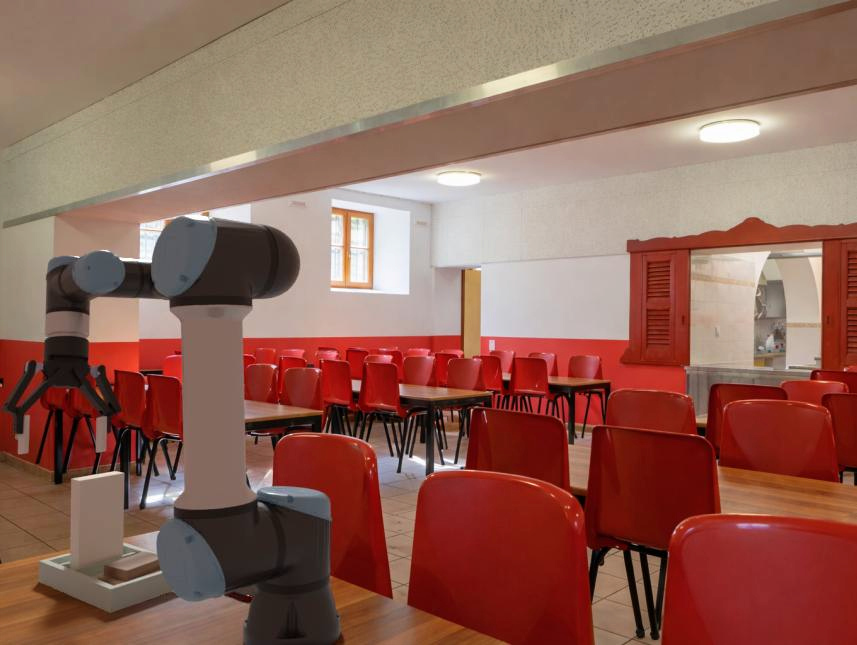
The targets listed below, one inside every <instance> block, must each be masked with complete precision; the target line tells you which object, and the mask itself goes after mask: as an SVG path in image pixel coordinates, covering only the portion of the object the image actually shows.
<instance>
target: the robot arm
mask: <svg viewBox="0 0 857 645" xmlns="http://www.w3.org/2000/svg"><path fill="white" fill-rule="evenodd" d="M300 270H301V258H300V253H299V250H298V248H297V247H296V243H294V241H293V240H292V239H291V237H290V236H289V235H287V234H286V233H285V232H283V231H282V230H280V229H279V228H277V227H273V226H270V225H268V224H267V225H266V224H263V223H262V224H261V223H252V222H245V221H240V220H239V221H238V220H233V219H226V218H222V217H215V216H210V215H190V214H189V215H187V214H186V215H180V216H176V217H175V218H173V219H172V220H170V221H169V222H168V223H167V224H166V225H165V227H164V228H163V229H162V230H161V232H160V235H158V237H157V240H156V242H155V245H154V248H153V251H152V256H151V259H138V258H130V257H129V258H127V257H119V256H118V255H117V254H115V253H113V252H111V251H109V250H105V249H96V250H94V251H91V252H88V253H85V254H83V255H82V256H75V255H60V256H54V257H53V258H51V259H49V261H48V263H47V268H46V274H45V281H46V283H45V284H46V286H45V287H46V288H45V290H46V291H45V316H44V318H45V320H44V321H45V322H44V335H45V337H46V338H45V339H44V341H43V343H44V345H43V362H38V361H36V360H35V359H31V360H29V361H27V362H25V363H24V366H23V371H22V375H21V376H20V378H19V380H18V381H17V382H16V384H15V386H14V388H13V389H12V391H11V392H10V394H9V396H8V397H7V399H6V401H5V402H4V404H3V405H2V407H1V411H2V412H3V413H7V414H9V415H11V416H12V417H13V424H12V426H13V427H12V433H13V435H18V441H17V455H23V454H24V455H25V454H29V446H30V445H29V442H30V421H31V415H29V414H26V413H27V412H28V411H29V410H30V409H31V408H32V407H33V406H34V405H35V404H36V403H37V402H38V400H39V399H40V398H41V397H43V395H44V394H45V393H46V392H47V391H48V390H49V389H50V388H52V387H54V389H55V388H56V389H60V388H65V389H74V388H76V390H78V391H79V392H81V393H82V395H83V396H84V397H85V398H86V399H87V401H88V403H90V404H91V406H92V408H94V410H96V412H97V413H98V414H99V417H96V426H95V427H96V429H95V431H96V433H95V453H102V452H106V451H107V439H108V438H107V436H108V435H109V434H111V432H112V417H113V416H114V415H117V414H120V413H122V411H123V410H122V406H121V404H120V403H119V401H118V398H117V396H116V394H115V392H114V390H113V387H112V385H111V383H110V382H109V379H108V377H107V371H106V370H107V369H106V365H104V364H100V365H97V366H90V364H89V357H90V354H89V353H90V352H89V351H90V340H88V338H89V337H90V323H91V320H90V316H91V314H90V312H91V308H90V307H91V301H92V300H95V299H96V298H118V299H143V300H144V299H149V300H151V299H152V300H164V301H168V302H169V303H168V304H169V311H170V312H171V314H172V315H174V316H175V317H176V318H177V319H178V320H179V321H180V345H181V380H182V381H181V385H182V386H181V387H182V388H181V389H182V393H181V394H182V426H183V427H182V430H183V431H182V434H183V436H182V437H183V439H182V441H183V443H182V444H183V478H184V480H183V481H184V483H183V484H184V485H183V487H184V489H183V492H181V494H179V496H177V497H176V499H174V501H173V518H169V519H168V520H167V521H165V522H163V523H162V525H161V526H160V528H159V530H158V531H159V532H158V533H157V535H156V544H155V545H156V546H155V547H156V553H157V556H158V561H159V565H160V568H161V571H162V574H163V576H164V578H165V580H166V581H167V583H168V585H169V586H170V588H171V589H172V590H173V592H172V593H174V594H175V595H177V596H178V597H179V598H180V599H182V600H184V601H186V602H189V603H197V602H198V603H199V602H202V601H205V600H210V599H218V598H221V597H222V596H224V595H226V594H227V593H230V592H233V591H237V590H240V589H243V588H246V587H249V586H252V585H255V591H254V594H253V597H252V600H251V601H250V604H249V608H248V614H247V616H246V617H245V619H244V620H243V627H242V641H243V644H244V645H334V644H335V643H336V642H337V641H338V640H339V639H340V637H341V617H340V614H339V611H338V610H337V606H336V605H337V604H336V601H335V598H334V594H333V590H332V588H331V546H332V544H331V543H332V542H331V540H332V522H333V517H331V516H332V515H331V513H332V512H331V500H330V498H329V496H328V495H327V494H325V493H324V492H322V491H319V490H316V489H311V488H307V487H298V486H297V487H296V486H284V485H283V486H281V485H279V486H278V485H273V486H263V487H261V488H259V489H257V490H256V491H254V490H252V489H251V487H249V485H248V484H247V459H246V458H247V456H246V454H247V451H246V421H245V420H246V419H245V418H246V417H245V411H246V410H245V408H246V407H245V376H244V373H245V372H244V371H245V370H244V334H243V333H244V332H243V330H244V329H243V326H244V325H243V321H244V319H245V318H246V317H247V316H248V315H249V314H250V313H251V312H252V311H253V300H266V299H268V300H269V299H273V298H276V297H279V296H281V295H283V294H285V293H286V292H288V291H289V290H290V289H291V288H292V287H293V286H294V284H295V283H296V282H297V280H298V277H299V275H300ZM40 371H41V373H42V374H43V376H44V377H45V378H44V379H43V380H42V381H41V382H40V383H39V384H38V386H36V388H35V389H34V390H32V392H31V393H30V394H29V395H28V396H27V397H25V398H24V400H23V401H22V402H21V403H20V404H19V402H20V399H21V398H22V396H23V395H24V393H25V391H26V390H27V389H28V387H29V385H30V383H31V382H32V381H33V378H34V376H35V375H37V374H38V373H39V372H40ZM88 375H91V377H92V378H94V381H95V383H96V385H97V388H98V390H99V392H100V394H101V395H100V394H99V393H98V392H97V390H96V389H95V388H94V387H93V386H92V383H91V381H90V380H89V379H88V378H87V376H88ZM18 404H19V405H18ZM17 405H18V406H17Z"/></svg>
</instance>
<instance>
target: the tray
mask: <svg viewBox="0 0 857 645" xmlns="http://www.w3.org/2000/svg"><path fill="white" fill-rule="evenodd" d="M144 551H146V552H150V553H155V554H157V552H155V551H153V550H152V551H151V550H148V549H145V548H142V547H139V546H135V545H133V544H130V543H127V542H124V541H123V555H121V556H117V557H114V558H110V559H107V560H103V561H99V562H96V563H92V564H89V565H85V566H81V567H78V568H74V569H70V552H69V553H65V554H60V555H56V556H53V557H49V558H45V559H42V560H39V561H38V583H40V584H42V585H44V584H45V586H46V587H49V586H50V587H49V588H51V587H52V588H51V589H54V588H55V589H54V590H56V589H57V591H58V590H59V591H58V592H61V593H63V592H64V593H63V594H65V593H66V594H65V595H68V596H70V597H72V598H75V599H76V600H80V601H82V602H84V603H87V604H89V605H91V606H93V607H96V608H98V609H100V610H103V611H105V612H107V613H109V614H111V613H114V612H118V611H119V610H123V609H126V608H128V607H132V606H135V605H137V604H141V603H144V602H146V601H149V600H152V599H155V598H158V597H161V596H164V595H166V593H167V594H170V593H173V592H172V591H173V590H172V589H171V588H170V586H169V585H168V583H167V581H166V580H165V578H164V576H163V574H162V571H159V572H156V573H153V574H149V575H146V576H143V577H140V578H136V579H133V580H130V581H127V582H124V583H120V584H117V585H114V586H113V585H110V584H108V583H105V582H103V581H100V580H98V576H101V575H104V565H106V564H108V563H111V562H114V561H117V560H120V559H123V558H126V557H129V556H132V555H135V554H138V553H141V552H144ZM169 592H170V593H169ZM163 594H164V595H163ZM160 595H161V596H160Z"/></svg>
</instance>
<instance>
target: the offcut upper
mask: <svg viewBox="0 0 857 645" xmlns="http://www.w3.org/2000/svg"><path fill="white" fill-rule="evenodd" d="M155 553H156V552H155ZM155 553H150V552H146V551H144V552H141V553H138V554H135V555H132V556H129V557H126V558H123V559H120V560H117V561H114V562H111V563H108V564H106V565H104V576H105V577H109V578H113V579H117V580H121V581H125V582H127V581H130V580H133V579H136V578H139V577H142V576H144V575H147V574H150V573H152V572H155V571H158V570H160V569H161V568H160V565H159V561H158V556H157V554H155Z"/></svg>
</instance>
